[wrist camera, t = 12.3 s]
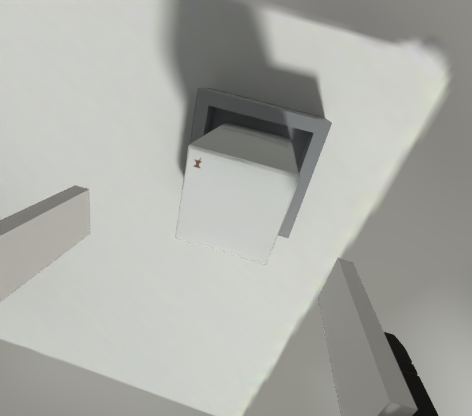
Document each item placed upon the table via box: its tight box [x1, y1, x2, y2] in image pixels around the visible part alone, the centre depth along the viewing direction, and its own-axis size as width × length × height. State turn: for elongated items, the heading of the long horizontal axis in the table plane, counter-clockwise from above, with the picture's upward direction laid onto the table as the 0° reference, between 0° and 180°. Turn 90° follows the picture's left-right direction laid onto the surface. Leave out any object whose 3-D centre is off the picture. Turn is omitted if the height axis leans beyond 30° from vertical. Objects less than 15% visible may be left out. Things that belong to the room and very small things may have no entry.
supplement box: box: [176, 122, 300, 265], centre depth 23 cm, size 7×7×13 cm
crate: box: [190, 88, 332, 238], centre depth 28 cm, size 12×12×4 cm
